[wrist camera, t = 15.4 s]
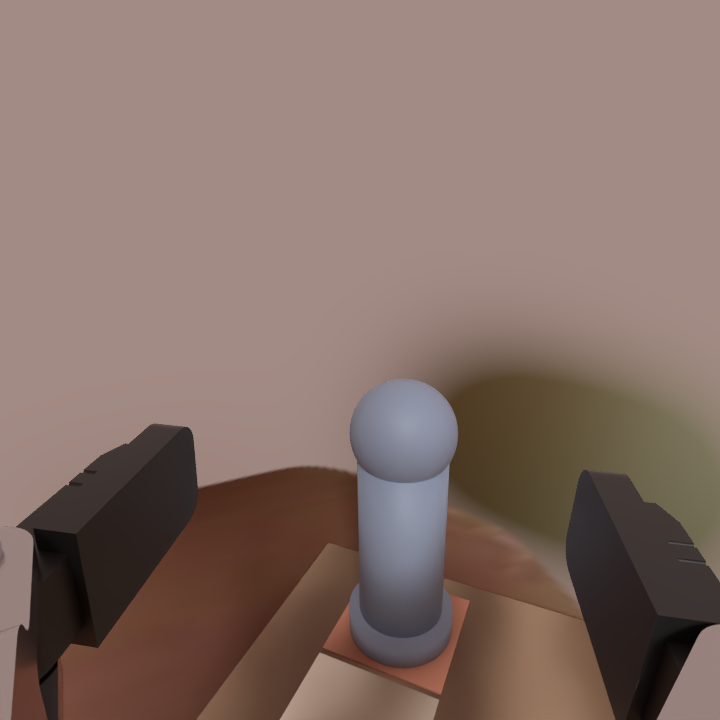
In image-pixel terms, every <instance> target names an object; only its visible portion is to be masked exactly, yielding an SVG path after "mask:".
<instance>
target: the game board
mask: <svg viewBox="0 0 720 720" xmlns="http://www.w3.org/2000/svg"><path fill="white" fill-rule="evenodd" d="M358 583H359V552H357V551H354V550H351V549H347V548H344V547H341V546H337V545H334V544H331V543H328V544H327V545H326V547H325V548H324V549H323V551H322V552H321V553H320V555H319V556H318V557H317V559H316V560H315V561H314V563H313V564H312V565H311V567H310V568H309V569H308V571H307V572H306V573H305V575H304V576H303V577H302V579H301V580H300V581H299V583H298V584H297V585H296V587H295V588H294V589H293V591H292V592H291V593H290V595H289V596H288V598H287V599H286V600H285V602H284V603H283V604H282V606H281V607H280V608H279V610H278V611H277V612H276V614H275V615H274V616H273V618H272V619H271V620H270V622H269V623H268V624H267V626H266V627H265V628H264V630H263V631H262V632H261V634H260V635H259V636H258V638H257V639H256V640H255V642H254V643H253V644H252V646H251V647H250V648H249V650H248V651H247V652H246V654H245V655H244V656H243V658H242V659H241V660H240V662H239V663H238V664H237V666H236V667H235V668H234V670H233V671H232V672H231V674H230V675H229V676H228V678H227V679H226V680H225V682H224V683H223V684H222V686H221V687H220V689H219V690H218V691H217V693H216V694H215V695H214V697H213V698H212V699H211V701H210V702H209V703H208V705H207V706H206V707H205V709H204V710H203V711H202V713H201V714H200V715H199V717H198V718H197V719H196V720H615V717H614V714H613V711H612V707H611V704H610V701H609V698H608V695H607V691H606V688H605V685H604V682H603V679H602V675H601V672H600V669H599V666H598V663H597V660H596V656H595V653H594V650H593V647H592V644H591V640H590V637H589V634H588V631H587V628H586V624H585V621H583V620H580V619H576V618H573V617H570V616H566V615H563V614H560V613H557V612H553V611H550V610H547V609H544V608H540V607H537V606H534V605H530V604H527V603H524V602H521V601H517V600H514V599H511V598H508V597H504V596H501V595H498V594H495V593H491V592H488V591H485V590H481V589H478V588H475V587H472V586H468V585H465V584H462V583H459V582H455V581H452V580H449V579H445V578H444V581H443V587H444V588H445V589H446V591H447V593H448V594H449V596H450V599H451V602H452V608H453V613H452V630H451V637H450V641H449V643H448V645H447V647H446V648H445V650H444V651H443V652H442V653H441V654H440V655H439V656H438V657H437V658H435V659H434V660H432V661H430V662H428V663H426V664H424V665H420V666H417V667H410V668H397V667H391V666H387V665H384V664H381V663H378V662H376V661H374V660H373V659H371V658H369V657H368V656H367V655H365V654H364V653H363V652H362V651H361V650H360V649H359V648H358V646H357V645H356V643H355V642H354V640H353V638H352V635H351V631H350V611H349V602H350V597H351V594H352V592H353V590H354V588H355V587H356V585H357V584H358Z"/></svg>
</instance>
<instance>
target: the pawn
mask: <svg viewBox="0 0 720 720" xmlns="http://www.w3.org/2000/svg"><path fill="white" fill-rule="evenodd" d="M457 440H458V428H457V422H456V418H455V415H454V412H453V410H452V408H451V406H450V405H449V403H448V402H447V400H446V399H445V398H444V397H443V396H442V395H441V394H440V393H439V392H438V391H437V390H436V389H434V388H433V387H431V386H429V385H427V384H425V383H423V382H420V381H416V380H412V379H395V380H390V381H386V382H384V383H382V384H379V385H377V386H376V387H374V388H373V389H371V390H370V391H369V392H368V393H367V394H366V395H365V396H364V397H363V398H362V399H361V400H360V402H359V403H358V405H357V407H356V409H355V410H354V413H353V416H352V419H351V424H350V442H351V446H352V450H353V452H354V455H355V457H356V459H357V477H358V537H359V583H358V584H357V585H356V587H355V588H354V590H353V592H352V594H351V597H350V602H349V611H350V631H351V635H352V638H353V640H354V642H355V643H356V645H357V646H358V648H359V649H360V650H361V651H362V652H363V653H364V654H365V655H367V656H368V657H369V658H371V659H373V660H374V661H376V662H378V663H381V664H384V665H387V666H391V667H397V668H410V667H417V666H420V665H424V664H426V663H428V662H430V661H432V660H434V659H435V658H437V657H438V656H439V655H440V654H441V653H442V652H443V651H444V650H445V648H446V647H447V645H448V643H449V641H450V637H451V630H452V613H453V608H452V602H451V599H450V596H449V594H448V593H447V591H446V589H445V588H444V587H443V581H444V561H445V541H446V521H447V501H448V481H449V463H450V461H451V460H452V457H453V455H454V453H455V450H456V447H457Z"/></svg>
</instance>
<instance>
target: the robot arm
mask: <svg viewBox="0 0 720 720" xmlns="http://www.w3.org/2000/svg"><path fill="white" fill-rule="evenodd" d="M197 497H198V485H197V474H196V464H195V451H194V441H193V434H192V432H191V430H190V429H189V428H188V427H181V426H171V425H162V424H152V425H150V426H149V427H148V428H146V429H145V430H144V431H143V432H142V433H141V434H139V435H138V436H137V437H136V438H135V439H134V440H133V441H131V442H130V443H129V444H124V445H122V446H120V447H117V448H115V449H113V450H111V451H109V452H107V453H105V454H103V455H101V456H100V457H99V458H97V459H96V460H95V461H94V462H93V463H91V464H90V465H89V466H88V467H87V468H85V469H84V472H83V473H79V474H78V475H77V476H76V477H75V478H74V479H72V480H71V481H70V482H69V485H65V486H64V487H63V488H62V489H61V490H59V491H58V492H57V493H56V494H55V495H53V496H52V497H51V498H50V499H49V500H48V501H46V502H45V503H44V504H43V505H41V506H40V507H39V508H38V509H37V510H36V511H34V512H33V513H32V514H31V515H30V516H28V517H27V518H26V519H25V520H24V521H22V522H21V523H20V524H19V525H18V526H16V527H0V720H64V714H63V669H62V663H61V659H60V656H61V655H62V654H63V653H64V651H65V650H66V649H67V648H68V646H69V645H70V644H71V643H72V644H78V645H84V646H90V647H96V648H98V647H99V646H100V644H101V643H102V641H103V640H104V639H105V637H106V636H107V634H108V633H109V632H110V630H111V629H112V628H113V626H114V625H115V623H116V622H117V621H118V619H119V618H120V616H121V615H122V614H123V612H124V611H125V609H126V608H127V607H128V605H129V604H130V602H131V601H132V600H133V598H134V597H135V596H136V594H137V593H138V591H139V590H140V589H141V587H142V586H143V584H144V583H145V582H146V580H147V579H148V577H149V576H150V575H151V573H152V572H153V570H154V569H155V568H156V566H157V565H158V564H159V562H160V561H161V559H162V558H163V557H164V555H165V554H166V552H167V551H168V550H169V548H170V547H171V545H172V544H173V543H174V541H175V540H176V538H177V537H178V536H179V534H180V533H181V532H182V530H183V529H184V527H185V526H186V525H187V523H188V522H189V520H190V519H191V517H192V515H193V513H194V510H195V507H196V503H197ZM566 559H567V566H568V570H569V573H570V576H571V580H572V583H573V586H574V589H575V593H576V596H577V599H578V602H579V605H580V609H581V612H582V615H583V618H584V621H585V624H586V628H587V631H588V634H589V637H590V640H591V644H592V647H593V650H594V653H595V656H596V660H597V663H598V666H599V669H600V672H601V675H602V679H603V682H604V685H605V688H606V691H607V695H608V698H609V701H610V704H611V707H612V711H613V714H614V717H615V720H720V582H719V580H718V579H717V578H716V576H715V574H714V573H713V572H712V570H711V569H710V567H709V566H706V561H705V560H704V558H703V557H702V555H701V554H700V552H699V551H698V549H697V548H694V543H693V542H692V540H691V539H690V537H689V536H688V534H687V533H686V531H685V530H684V528H683V527H682V525H681V524H680V522H678V521H677V520H676V519H675V518H673V517H672V516H671V515H670V514H668V513H667V512H666V511H665V510H663V509H662V508H661V507H660V506H658V505H657V504H656V503H647V502H644V501H643V500H642V498H641V497H640V495H639V493H638V491H637V490H636V488H635V487H634V485H633V483H632V482H631V481H630V478H629V477H628V476H627V475H626V474H621V473H612V472H603V471H593V470H583V471H582V473H581V475H580V477H579V481H578V486H577V490H576V495H575V499H574V504H573V509H572V513H571V518H570V523H569V528H568V532H567V538H566Z"/></svg>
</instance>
